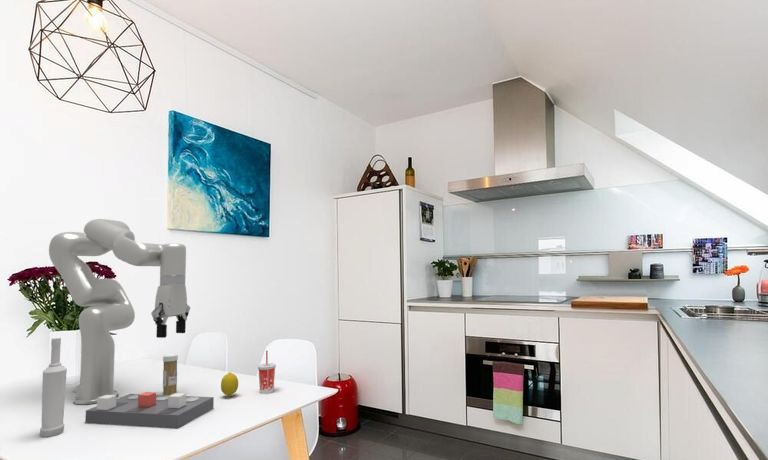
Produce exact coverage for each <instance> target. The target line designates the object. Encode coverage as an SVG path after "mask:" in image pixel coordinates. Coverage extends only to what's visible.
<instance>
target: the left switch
mask: <svg viewBox="0 0 768 460" xmlns="http://www.w3.org/2000/svg"><path fill="white" fill-rule="evenodd" d="M116 399H117V397H116V395H104V396H102V397H99V398H97V403H96V406H97V410H109V409H111V408H114V407H116Z"/></svg>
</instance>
